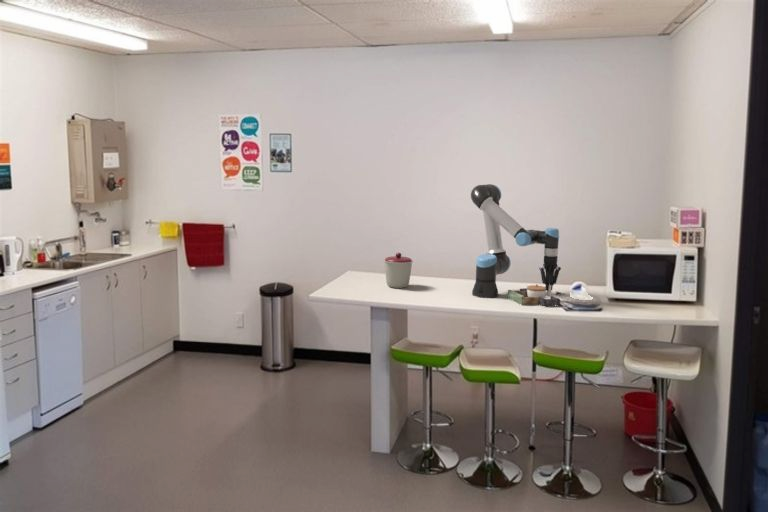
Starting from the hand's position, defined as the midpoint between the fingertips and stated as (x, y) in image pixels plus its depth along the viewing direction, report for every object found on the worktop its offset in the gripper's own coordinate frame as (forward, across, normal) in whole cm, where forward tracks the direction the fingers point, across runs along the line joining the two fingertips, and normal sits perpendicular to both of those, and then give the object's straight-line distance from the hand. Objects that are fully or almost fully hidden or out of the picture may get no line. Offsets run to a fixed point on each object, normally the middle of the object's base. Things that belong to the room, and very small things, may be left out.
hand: (548, 295), depth 385 cm
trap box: (+2, -11, 0) cm, 11 cm away
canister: (+2, -74, +52) cm, 91 cm away
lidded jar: (+3, -8, 0) cm, 8 cm away
